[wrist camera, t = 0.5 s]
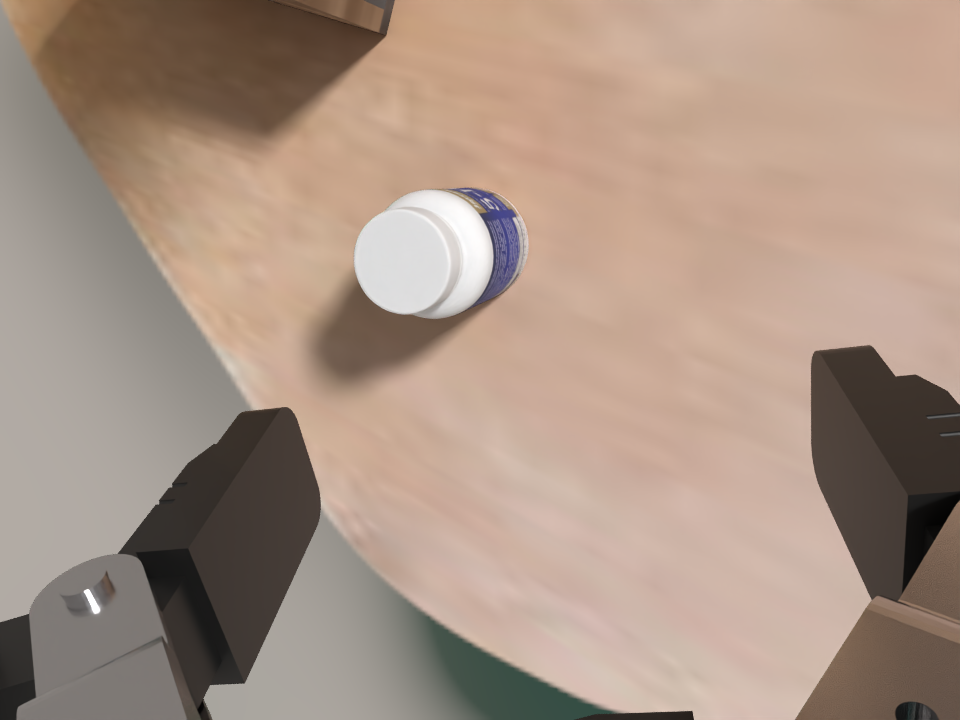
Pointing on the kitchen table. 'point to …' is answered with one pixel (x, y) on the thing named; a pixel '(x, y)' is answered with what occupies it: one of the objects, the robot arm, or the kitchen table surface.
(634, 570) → the kitchen table surface
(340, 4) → the walled box
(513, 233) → the pill bottle
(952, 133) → the kitchen table surface
